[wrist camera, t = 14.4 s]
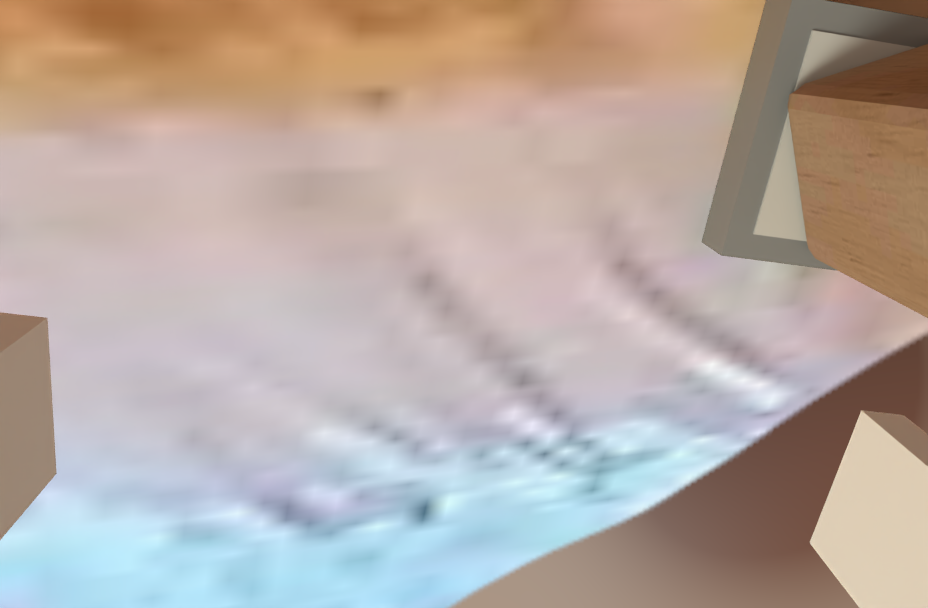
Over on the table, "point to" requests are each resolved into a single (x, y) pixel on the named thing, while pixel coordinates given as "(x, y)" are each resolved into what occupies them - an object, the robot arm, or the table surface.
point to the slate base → (768, 126)
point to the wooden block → (868, 173)
